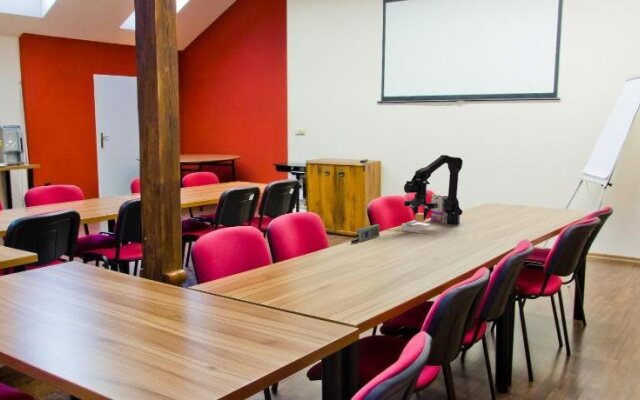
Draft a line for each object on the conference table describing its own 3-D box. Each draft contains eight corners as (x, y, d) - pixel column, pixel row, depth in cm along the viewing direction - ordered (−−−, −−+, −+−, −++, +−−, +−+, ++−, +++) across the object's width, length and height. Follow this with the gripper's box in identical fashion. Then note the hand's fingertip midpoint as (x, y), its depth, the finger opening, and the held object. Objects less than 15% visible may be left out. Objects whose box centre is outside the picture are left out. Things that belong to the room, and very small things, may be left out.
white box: (431, 227, 338) (431, 221, 337) (417, 232, 324) (417, 226, 323) (415, 225, 344) (415, 219, 343) (401, 230, 330) (401, 224, 329)
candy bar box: (448, 222, 354) (449, 195, 352) (441, 223, 352) (442, 196, 350) (437, 220, 364) (437, 193, 362) (430, 220, 362) (431, 194, 360)
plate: (435, 225, 345) (435, 224, 345) (430, 227, 340) (430, 226, 339) (424, 224, 349) (424, 223, 349) (419, 225, 344) (419, 225, 344)
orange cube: (425, 220, 337) (425, 213, 337) (422, 221, 334) (422, 214, 333) (418, 219, 340) (418, 213, 339) (415, 220, 336) (415, 214, 336)
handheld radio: (380, 236, 313) (354, 244, 293) (375, 236, 314) (349, 244, 295) (380, 224, 312) (354, 231, 292) (374, 223, 314) (348, 230, 294)
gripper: (399, 192, 333) (399, 219, 336) (430, 195, 323) (429, 223, 325) (409, 190, 342) (408, 217, 344) (438, 193, 331) (437, 220, 334)
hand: (420, 219), depth 337 cm, fingers closed on orange cube, 4 cm apart
